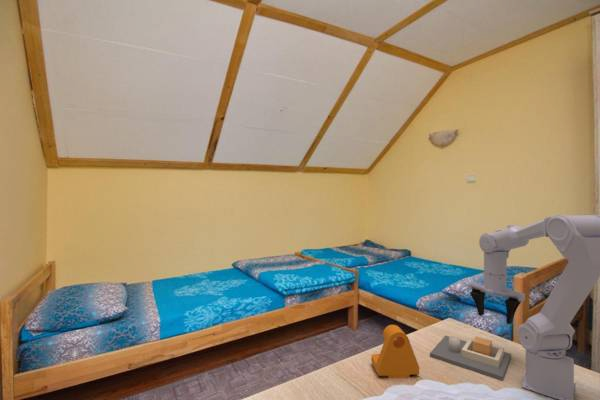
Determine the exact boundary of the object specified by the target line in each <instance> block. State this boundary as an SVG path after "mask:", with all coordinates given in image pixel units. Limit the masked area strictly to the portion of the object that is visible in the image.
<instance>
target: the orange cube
mask: <svg viewBox="0 0 600 400" xmlns="http://www.w3.org/2000/svg"><path fill="white" fill-rule="evenodd" d="M473 340H474V341H473V352H477V353H480V354H484V355H487V356H490V357H492V345H493V344H492V342H493V341H492V340H490V339H487V338H483V337H479V336H475V338H474V339H473Z"/></svg>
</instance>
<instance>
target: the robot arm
mask: <svg viewBox="0 0 600 400" xmlns="http://www.w3.org/2000/svg"><path fill="white" fill-rule="evenodd" d="M542 237H545V238H549V240H551V243H553V245H554V246H555V247H556V249H557V251H558V252H559V253H560V254H561V255H562V257H563V258H565V259H566V260H567V261H568V262H567V264H566V266H565V267H564V269H563V270H562V273H561V274H560V276H559V278H558V279H557V281H556V283H555V285H554V286H553V289H552V291H551V293H550V294H549V295H548V297H547V299H546V301H545V303H544V305H543V306H542V308H541V309H540V311H539V312H538V313H536V314H534V315H532V316H530V317H528V318H527V319H526V320H525V322H524V323H521V324H520V325H519V326H518V327H517V330H516V333H517V334H516V335H517V339H518V341H519V344H520V345H521V346H522V348H524V349H525V372H524V375H523V378H522V382H521V387H522V388H523V389H526V390H529V391H531V392H535V393H538V394H540V395H544V396H547V397H550V398H553V399H556V400H558V399H559V400H575V399H574V395H575V392H576V391H577V389H576V383H575V381H574V380H575V378H574V377H575V375H574V374H575V370H574V369H575V367H574V366H575V362H574V361H575V359H574V358H572V357H569V356H566V354H567V352H566V350H569V349H570V348H571V347H572V345H573V336H574V334H575V332H576V330H575V329H574V327H573V326H572V325H571V322H572V320H573V319H574V317H575V316H576V315H577V313H578V311H579V310H580V309H581V306H582V305H583V304H584V303H585V301H586V299H587V297H588V296H589V295H590V293H591V292H592V290H593V288H594V287H595V285H596V284H597V282H598V280H599V279H600V215H599V214H587V215H586V214H585V215H584V214H583V215H582V214H581V215H578V214H577V215H571V214H570V215H564V214H555V215H553V216H547V217H545V218H544V219H541V220H538V221H536V222H533V223H531V224H529V225H526V226H519V225H516V224H508V225H507V226H506V228H503V229H496V230H495V231H494V232H493V233H490V232H484V233H482V235H480V237H479V241H478V242H479V243H478V244H479V247H480V250H481V251H482V252H483V283H477V282H472V281H471V282H468V284H467V285H468V290H471V291H470V296H471V297H472V299H473V302H474V303H475V307H476V310H477V313H478V316H483V315H484V314H485V298H486V294H491V295H495V296H499V297H503V298H507V299H505V300H504V303H505V308H506V325H510V324H513V320H514V316H515V314H516V311H517V309H518V308H519V306H520V305H521V303H523V302H524V301H525V300H526V293H525V292H520V291H515V290H512V289H510V288H507V284H508V283H507V279H508V278H507V273H508V272H507V271H508V270H507V266H508V265H507V259H509V255H510V251H511V250H513V249H514V250H515V249H518V248H521V247H526V246H527V245H528V244H529V242H530V241H531V240H533V239H534V240H535V239H539V238H542Z"/></svg>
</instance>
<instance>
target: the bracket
mask: <svg viewBox="0 0 600 400" xmlns="http://www.w3.org/2000/svg"><path fill="white" fill-rule="evenodd" d="M382 337H383V341H384V342H383V344H382V347H381V350H380V352H379V353H374V354H371V364H372V366H373V368H374V370H375V372H376V374H377V375H378V376H379V377H380V376H386V377H387V378H388V379H405V378H410V375H419V374H420V365H419V363H418V360H417V357H416V355H415V352H414V349H413V346H412V344H411V342H410V339H409V337H408V336H407V334H406V333H405V331H403V330H402V329H401V327H399V326H398V325H396V324H389V325H387V326H386V327H385V328H384V330H383V332H382Z"/></svg>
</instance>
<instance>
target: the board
mask: <svg viewBox="0 0 600 400" xmlns="http://www.w3.org/2000/svg"><path fill="white" fill-rule="evenodd" d="M473 341H474V339H472V338H468V339H467V341H466V340H463V339H461V338H459V337H458V336H452V335H451V336H448V335H444V337H442V339H441V340H440V341H439V342H438V343H437V345H436V346H435V347H434V348H433V349H432V350H431V351H430V352H429V357H430V358H433V359H436V360H439V361H442V362H446V363H447V364H451V365H455V366H458V367H460V368H463V369H466V370H469V371H471V372H476V373H478V374H481V375H484V376H487V377H490V378H494V379H497V380H499V381H504V378H505V375H506V372H507V370H508V367H509V364H510V362H511V359H512V354H511V353H509V352H506V351H505V348H504V347H501V346H498V345H494V344H492V357H490V356H487V355H484V354H480V353H477V352H473Z"/></svg>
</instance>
